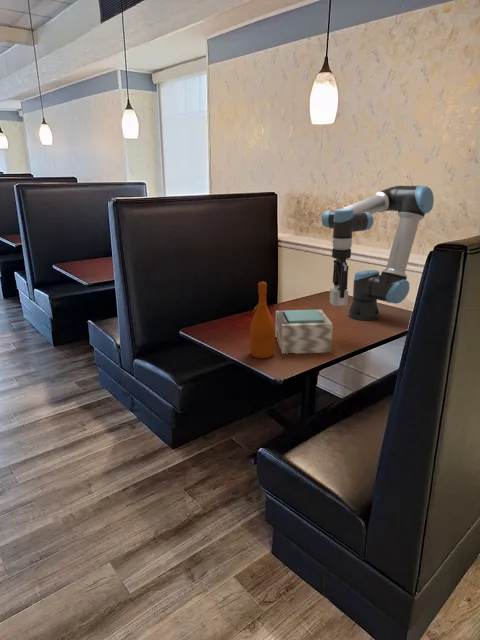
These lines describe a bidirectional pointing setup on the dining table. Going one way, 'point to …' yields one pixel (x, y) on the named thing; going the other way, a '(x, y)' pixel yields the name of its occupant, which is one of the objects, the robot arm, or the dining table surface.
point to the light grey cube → (335, 297)
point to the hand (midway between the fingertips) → (338, 302)
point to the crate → (303, 335)
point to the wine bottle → (262, 327)
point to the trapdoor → (303, 316)
